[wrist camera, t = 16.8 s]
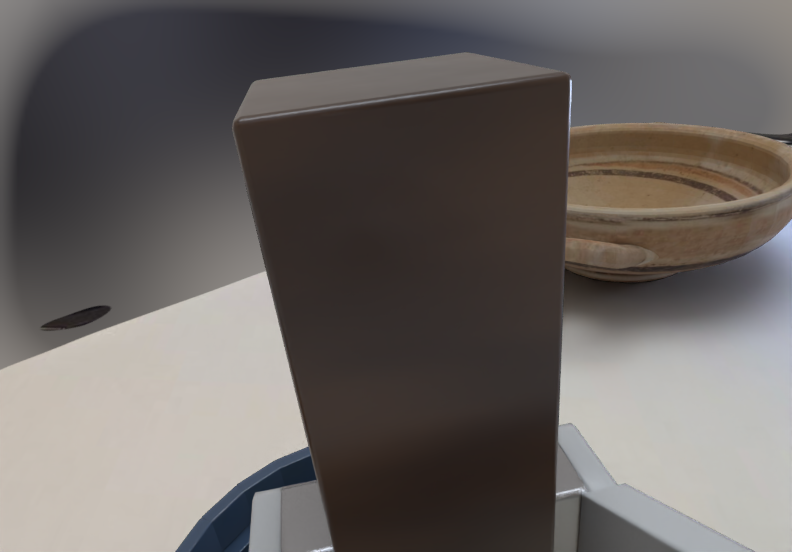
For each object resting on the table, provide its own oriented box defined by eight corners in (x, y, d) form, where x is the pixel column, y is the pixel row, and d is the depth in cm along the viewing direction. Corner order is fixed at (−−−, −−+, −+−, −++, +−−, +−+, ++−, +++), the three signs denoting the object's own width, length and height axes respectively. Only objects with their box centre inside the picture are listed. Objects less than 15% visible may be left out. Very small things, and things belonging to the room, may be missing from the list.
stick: (407, 858, 12) (228, 120, 5) (383, 695, 15) (250, 81, 7) (545, 816, 12) (576, 70, 5) (496, 665, 15) (471, 51, 8)
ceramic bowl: (782, 405, 34) (822, 263, 30) (402, 312, 49) (390, 209, 44) (789, 206, 61) (811, 116, 56) (542, 185, 76) (543, 113, 71)
